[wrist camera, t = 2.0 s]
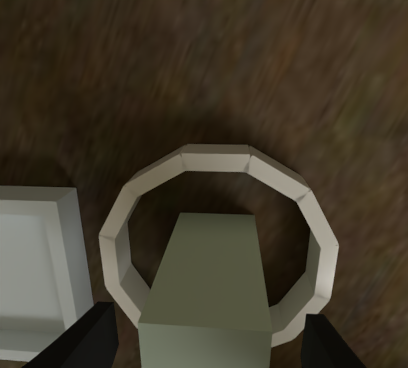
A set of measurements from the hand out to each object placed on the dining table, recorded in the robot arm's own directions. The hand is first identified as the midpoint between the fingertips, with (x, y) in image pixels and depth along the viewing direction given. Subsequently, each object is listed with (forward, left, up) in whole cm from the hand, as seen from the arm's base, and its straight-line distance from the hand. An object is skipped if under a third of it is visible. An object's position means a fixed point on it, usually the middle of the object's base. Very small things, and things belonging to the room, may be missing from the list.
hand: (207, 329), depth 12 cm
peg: (0, 0, -6) cm, 6 cm away
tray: (+13, +2, -6) cm, 14 cm away
